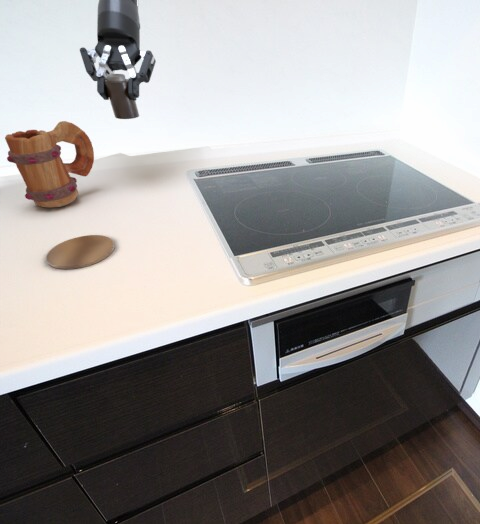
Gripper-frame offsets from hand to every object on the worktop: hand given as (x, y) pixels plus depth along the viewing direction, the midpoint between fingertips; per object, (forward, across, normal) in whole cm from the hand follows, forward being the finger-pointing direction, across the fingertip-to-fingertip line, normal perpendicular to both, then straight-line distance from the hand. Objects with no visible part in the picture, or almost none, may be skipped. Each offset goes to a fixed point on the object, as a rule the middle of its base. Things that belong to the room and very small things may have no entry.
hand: (118, 97), depth 74 cm
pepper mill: (+2, 0, +4) cm, 5 cm away
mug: (+18, -13, +9) cm, 24 cm away
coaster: (+34, -3, -7) cm, 34 cm away
